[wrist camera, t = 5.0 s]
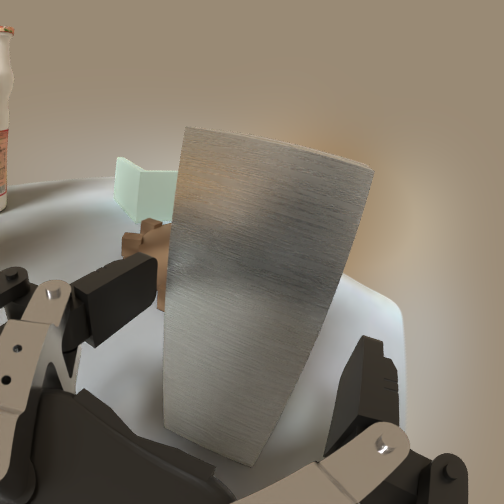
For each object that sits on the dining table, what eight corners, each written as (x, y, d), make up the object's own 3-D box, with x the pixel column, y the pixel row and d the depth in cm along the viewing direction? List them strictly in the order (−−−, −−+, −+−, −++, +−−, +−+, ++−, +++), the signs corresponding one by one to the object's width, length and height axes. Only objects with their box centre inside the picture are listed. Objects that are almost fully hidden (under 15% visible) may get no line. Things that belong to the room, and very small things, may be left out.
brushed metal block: (164, 427, 13) (185, 126, 7) (205, 372, 17) (249, 134, 12) (252, 467, 12) (374, 170, 6) (279, 402, 16) (366, 164, 11)
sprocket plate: (77, 265, 24) (76, 246, 24) (189, 215, 44) (191, 202, 43) (298, 367, 19) (307, 346, 19) (331, 261, 38) (335, 247, 38)
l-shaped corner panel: (209, 221, 45) (218, 173, 42) (135, 227, 37) (140, 171, 34) (175, 198, 53) (181, 158, 50) (113, 201, 45) (117, 157, 42)
